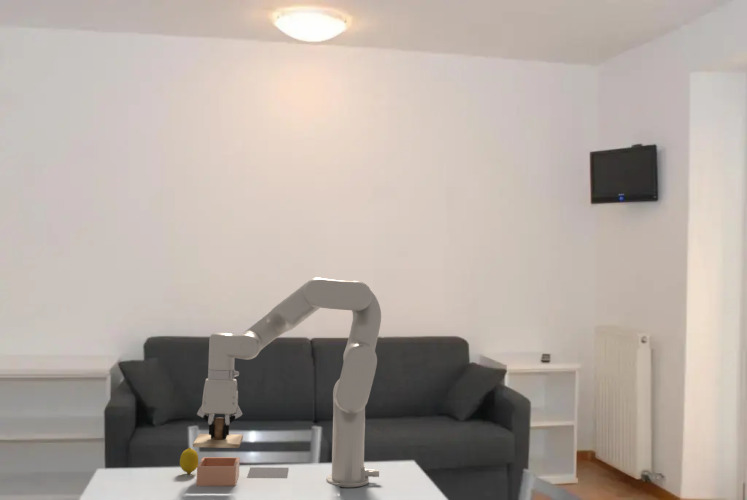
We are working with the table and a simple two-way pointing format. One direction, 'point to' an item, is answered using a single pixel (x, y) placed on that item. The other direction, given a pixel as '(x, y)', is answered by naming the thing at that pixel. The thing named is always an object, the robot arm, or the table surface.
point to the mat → (267, 472)
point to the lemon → (189, 460)
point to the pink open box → (218, 471)
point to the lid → (218, 437)
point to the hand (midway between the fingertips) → (218, 437)
